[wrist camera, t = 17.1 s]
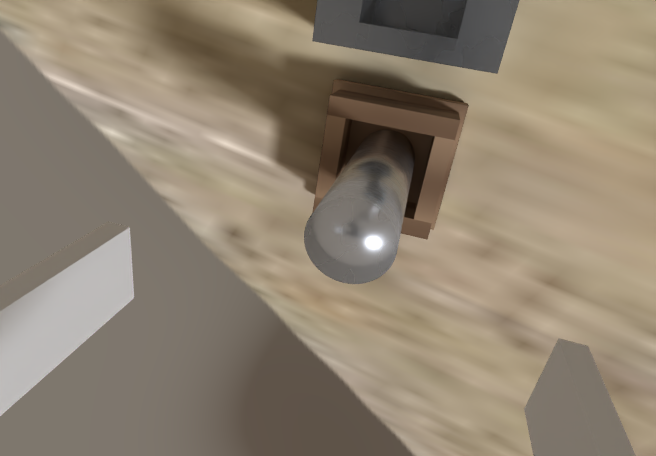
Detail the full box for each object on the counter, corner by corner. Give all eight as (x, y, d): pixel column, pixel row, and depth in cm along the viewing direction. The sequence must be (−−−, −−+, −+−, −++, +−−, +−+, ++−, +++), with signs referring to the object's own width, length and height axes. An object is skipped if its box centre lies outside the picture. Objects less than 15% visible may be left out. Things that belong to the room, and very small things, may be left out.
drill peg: (363, 124, 31) (310, 188, 18) (421, 135, 30) (407, 210, 18) (353, 178, 32) (298, 271, 20) (407, 190, 32) (386, 293, 19)
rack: (336, 78, 31) (323, 85, 27) (467, 103, 30) (471, 113, 26) (318, 198, 35) (304, 217, 31) (433, 224, 33) (432, 247, 30)
